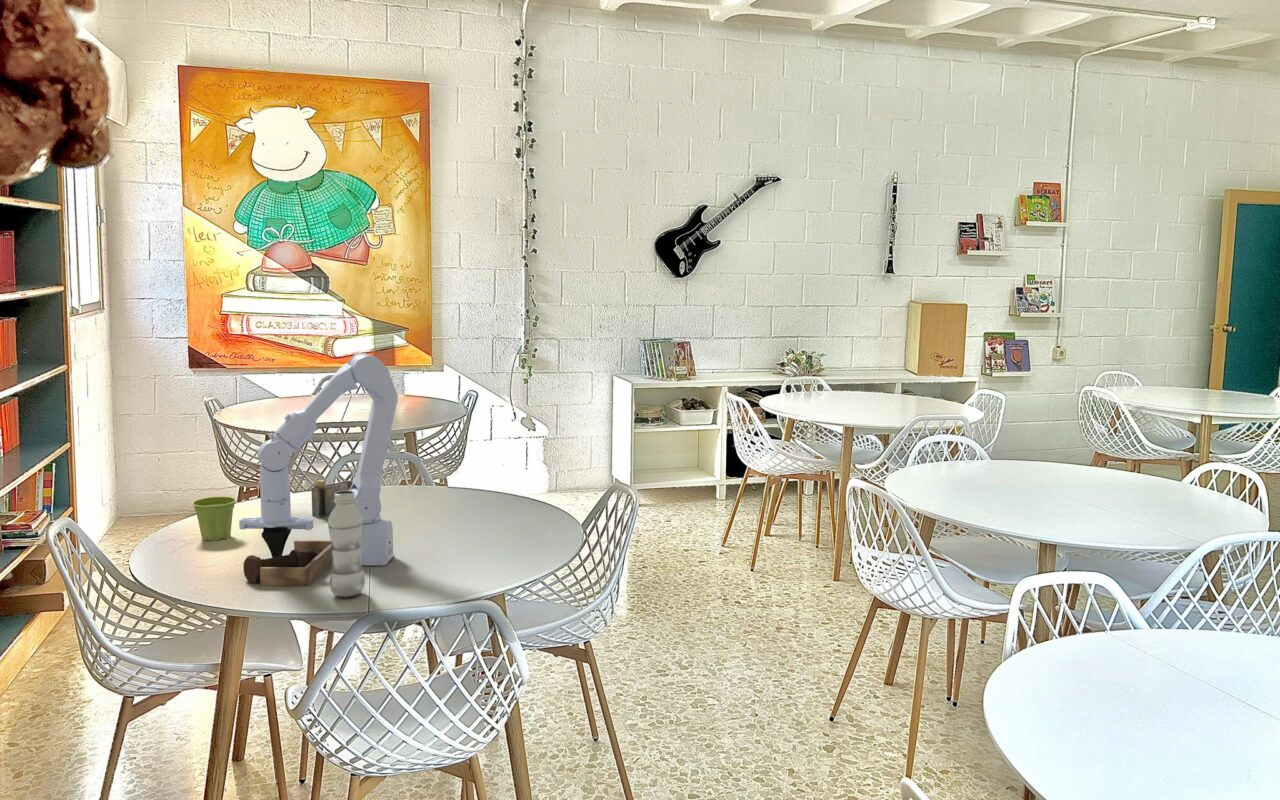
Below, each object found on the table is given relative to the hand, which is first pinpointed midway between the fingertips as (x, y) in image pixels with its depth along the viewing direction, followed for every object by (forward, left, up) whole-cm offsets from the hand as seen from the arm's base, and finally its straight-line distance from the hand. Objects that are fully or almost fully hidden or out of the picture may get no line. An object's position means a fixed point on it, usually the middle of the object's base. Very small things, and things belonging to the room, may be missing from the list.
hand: (277, 563), depth 207 cm
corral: (-4, 0, -2) cm, 5 cm away
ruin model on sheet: (+3, -50, -2) cm, 50 cm away
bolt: (-3, +3, -2) cm, 4 cm away
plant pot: (+23, -25, -2) cm, 34 cm away
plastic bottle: (-19, +16, -2) cm, 25 cm away
